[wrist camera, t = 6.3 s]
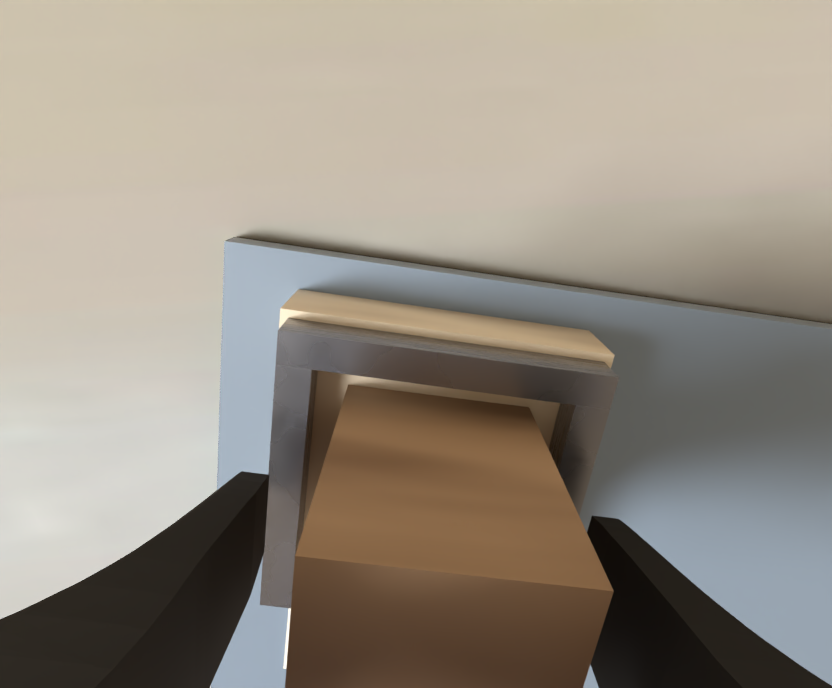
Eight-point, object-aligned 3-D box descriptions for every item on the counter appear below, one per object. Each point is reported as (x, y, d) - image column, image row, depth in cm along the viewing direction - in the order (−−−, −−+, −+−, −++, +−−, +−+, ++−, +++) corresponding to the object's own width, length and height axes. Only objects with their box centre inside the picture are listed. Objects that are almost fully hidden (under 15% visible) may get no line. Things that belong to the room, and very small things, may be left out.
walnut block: (496, 554, 15) (546, 803, 9) (332, 536, 14) (277, 778, 9) (529, 407, 13) (613, 591, 8) (348, 384, 13) (294, 556, 7)
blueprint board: (788, 731, 21) (866, 851, 17) (218, 669, 20) (174, 782, 16) (988, 346, 16) (1158, 401, 12) (234, 237, 15) (175, 261, 11)
